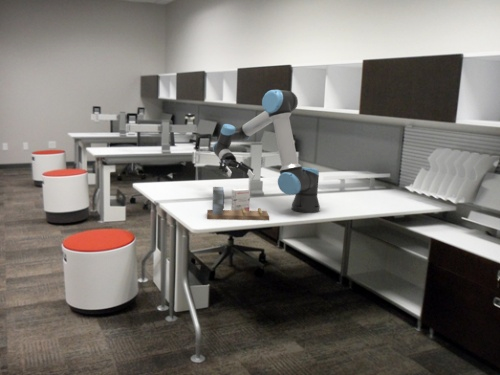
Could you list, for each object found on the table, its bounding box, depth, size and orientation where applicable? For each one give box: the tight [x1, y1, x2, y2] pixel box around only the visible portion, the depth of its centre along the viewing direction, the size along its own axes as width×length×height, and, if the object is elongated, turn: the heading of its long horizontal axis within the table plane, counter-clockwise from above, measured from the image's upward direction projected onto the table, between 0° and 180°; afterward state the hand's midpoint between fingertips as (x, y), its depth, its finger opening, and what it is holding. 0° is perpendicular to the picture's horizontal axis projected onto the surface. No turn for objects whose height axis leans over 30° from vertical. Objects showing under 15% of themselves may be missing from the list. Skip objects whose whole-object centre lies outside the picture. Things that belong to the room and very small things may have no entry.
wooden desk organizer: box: [206, 186, 270, 221], centre depth 234 cm, size 30×11×14 cm, turn 95°
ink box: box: [230, 188, 251, 211], centre depth 246 cm, size 9×5×12 cm, turn 118°
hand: (242, 175), depth 248 cm, fingers open, 13 cm apart
